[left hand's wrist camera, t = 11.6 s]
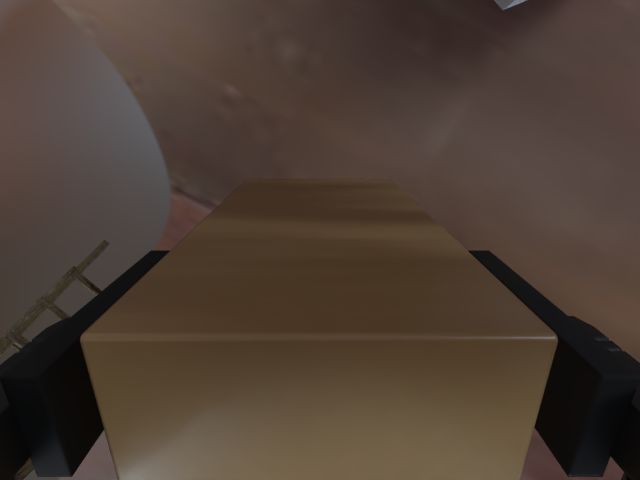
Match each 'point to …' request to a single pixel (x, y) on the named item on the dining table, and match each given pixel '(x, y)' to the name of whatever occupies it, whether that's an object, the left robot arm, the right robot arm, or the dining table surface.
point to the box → (318, 347)
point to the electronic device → (508, 3)
